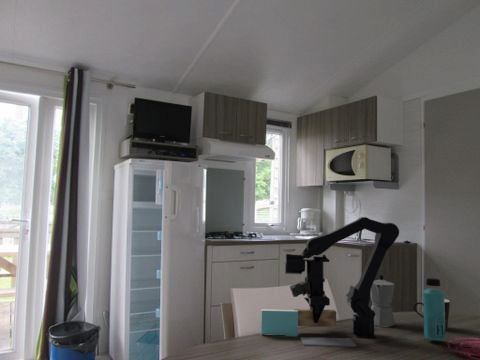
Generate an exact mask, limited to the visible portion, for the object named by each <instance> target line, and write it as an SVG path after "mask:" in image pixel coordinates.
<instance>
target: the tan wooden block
mask: <svg viewBox="0 0 480 360" xmlns="http://www.w3.org/2000/svg"><path fill="white" fill-rule="evenodd" d="M293 310H297V311H298V327H309V328H310V327H313V328H314V327H317V328H318V327H319V328H322V327H323V328H325V327H326V328H336V327H337V311H336V309H324V310H323V312H322V314H321V316H320V318H319V320H318V323H314V319H313V313H312V309H310V308H309V309H308V308H306V309H303V308H301V309H299V308H297V309H295V308H293Z"/></svg>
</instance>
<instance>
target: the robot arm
mask: <svg viewBox="0 0 480 360" xmlns="http://www.w3.org/2000/svg"><path fill="white" fill-rule="evenodd" d="M364 230H365V231H369V232H371V233H375V235H374V245H373V247H372V250H371V252H370V254H369V258H368V260H367V262H366V264H365V267H364V269H363V272H362V274H361V275H360V279H359V281H358V283H357V284H356V285H355V286H353V285H350V286H349V290H348V292H347V293H346V294H345V295H346V296H345V297H346V303H347V305H348V307H349V308H350V309H351V310H352V312H353V313H354V314H352V319H351V321H350V322H351V325H350V327H351V328H350V329H351V333H352V334H353V335H354V336H355V337H356V338H373V339H374V338H377V335H376V334H375V326H374V317H375V312H374V311H373V310H372V309H371V306H369V304H370V300H371V295H370V291H371V287H372V285H373V282H374V281H375V280H376V278H377V275H378V273H379V270H380V268H381V266H382V263H383V261H384V258H385V257H386V253H387V251H388V250H389V249H390V248H391V247H392V246H393V244H394V243H395V241H396V240H397V239H398V237H399V235H400V229H399V227H398V226H397V225H396V224H394V223H393V222H381V221H377V220H373V219H370V218H369V217H367V216H366V217H365V216H360V217H358V218H357V219H356V220H354V221H351V222H350V223H348V224H345V225H343V226H341V227H339V228H337V229H335V230H333V231H331V232H329V233H325V234H321V235H317V236H313V237H310V238H309V239H308V240H307V241H306V244H305V245H306V246H305V248H304V249H303V251H302V252H301V253H300V254H292V253H286V254H285V263H284V274H286V275H302V274H303V273H304V272H306V276H305V277H304V281H300V282H297V283H294V284H291V285H290V286H289V289H290V291H291V295H292V296H293V298H297V297H299V296H301V295H302V296H303V298H304V300H305V301H306V302H307V303H308V305H309V309H312V313H313V319H314V323H318V320H319V318H320V316H321V314H322V312H323V310H325V307H326V306H327V307H328V306H331V304H330V303H331V301H330V300H331V299H330V298H329V297H328V296H327V295H326V291H325V290H324V289H325V288H324V287H325V286H324V283H325V282H326V279H325V277H324V273H325V272H324V270H325V267H324V263H329V262H330V259H329V258H327V256H326V254H324V253H325V252H326V251H328V250H329V249H330V248H331V247H332V246H334V245H335V244H336V243H338V242H340V241H343V240H345V239H347V238H349V237H350V236H351V237H352V236H353V235H355V234H357V233H359V232H361V231H364ZM320 255H321V256H320ZM304 296H306V297H304Z"/></svg>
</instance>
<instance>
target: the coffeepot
mask: <svg viewBox="0 0 480 360" xmlns="http://www.w3.org/2000/svg"><path fill="white" fill-rule="evenodd" d="M378 277H379V279H375V280H374V282H373V285H372V287H371V291H370V300H371V302H372V303H371V304H372V305H371V306H370V308H371V309H372V310H373V311H374V312H375V317H374V324H375V325H378V326H377V327H379V326H393V325H394V326H396V323H395V316H394V313H393V312H394V311H393V307H392V302H393V300H394V299H393V298H394V292H395V285H396V284H395V283H393V282H391V281H387V279H385V278H384V275H382V274H379V275H378ZM394 326H393V327H394Z"/></svg>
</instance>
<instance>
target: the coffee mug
mask: <svg viewBox="0 0 480 360" xmlns="http://www.w3.org/2000/svg"><path fill="white" fill-rule="evenodd" d="M444 304H445V325H446V330H445V331H447V330H448V326H449V316H450V305H451V301H450V300H449V299H446V298H444ZM418 305H422V307H424V302H419V301H418V302H415V303H414V305H413V309H414V311H415V313H416V314H417V315H419V316H421V318H423V319H424V316H423V314H422V313H419V312H418V311H417V309H416V307H417V306H418Z"/></svg>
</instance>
